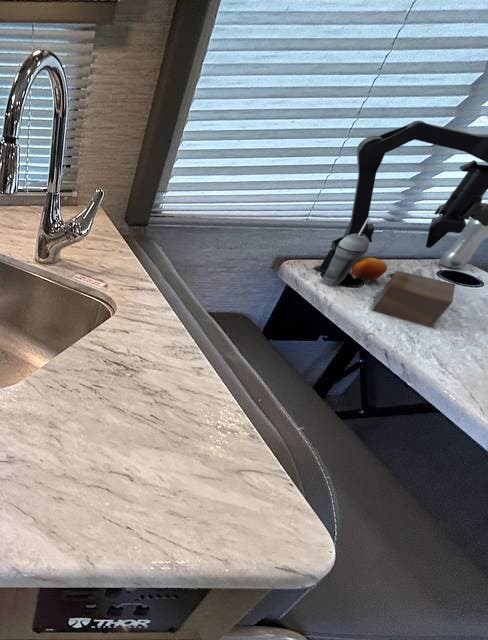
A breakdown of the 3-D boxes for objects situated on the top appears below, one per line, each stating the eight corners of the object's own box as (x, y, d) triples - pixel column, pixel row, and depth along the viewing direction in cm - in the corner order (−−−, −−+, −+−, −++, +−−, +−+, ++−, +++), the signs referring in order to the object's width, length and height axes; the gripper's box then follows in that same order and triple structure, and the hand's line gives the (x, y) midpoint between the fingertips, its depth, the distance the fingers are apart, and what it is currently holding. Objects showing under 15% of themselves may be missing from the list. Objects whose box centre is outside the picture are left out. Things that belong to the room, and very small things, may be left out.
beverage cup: (318, 285, 122) (356, 220, 109) (315, 275, 127) (352, 213, 114) (346, 290, 119) (388, 224, 106) (342, 280, 124) (382, 216, 111)
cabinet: (379, 293, 117) (396, 270, 112) (435, 308, 110) (455, 284, 106) (372, 310, 110) (389, 286, 105) (430, 327, 103) (452, 302, 98)
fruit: (346, 277, 123) (361, 252, 121) (342, 281, 129) (357, 258, 127) (378, 284, 118) (395, 259, 116) (373, 289, 125) (388, 264, 123)
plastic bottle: (464, 272, 127) (517, 209, 114) (437, 267, 130) (486, 205, 117) (459, 264, 132) (510, 203, 119) (433, 260, 134) (480, 200, 121)
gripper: (514, 205, 94) (464, 265, 105) (512, 189, 104) (466, 245, 115) (452, 196, 101) (410, 253, 111) (456, 182, 111) (417, 236, 121)
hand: (428, 247), depth 114 cm, fingers closed
